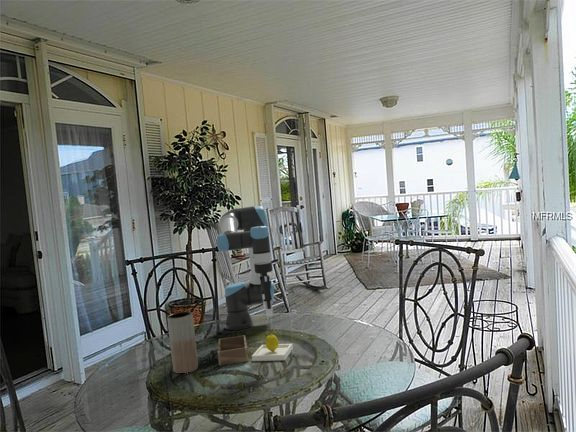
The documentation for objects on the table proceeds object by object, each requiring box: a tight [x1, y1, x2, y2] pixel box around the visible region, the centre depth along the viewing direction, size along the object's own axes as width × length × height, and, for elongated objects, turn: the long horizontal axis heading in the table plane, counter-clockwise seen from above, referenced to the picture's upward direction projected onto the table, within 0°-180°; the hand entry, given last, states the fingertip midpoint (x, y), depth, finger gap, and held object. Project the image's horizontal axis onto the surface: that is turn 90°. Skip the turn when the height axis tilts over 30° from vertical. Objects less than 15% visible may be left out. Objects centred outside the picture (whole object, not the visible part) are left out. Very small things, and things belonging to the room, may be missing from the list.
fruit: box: [264, 332, 279, 352], centre depth 186 cm, size 6×6×8 cm
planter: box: [166, 311, 199, 374], centre depth 179 cm, size 10×10×23 cm
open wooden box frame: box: [217, 334, 249, 366], centre depth 190 cm, size 20×12×6 cm, turn 8°
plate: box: [251, 343, 294, 362], centre depth 186 cm, size 14×14×2 cm
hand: (268, 312), depth 186 cm, fingers open, 13 cm apart
